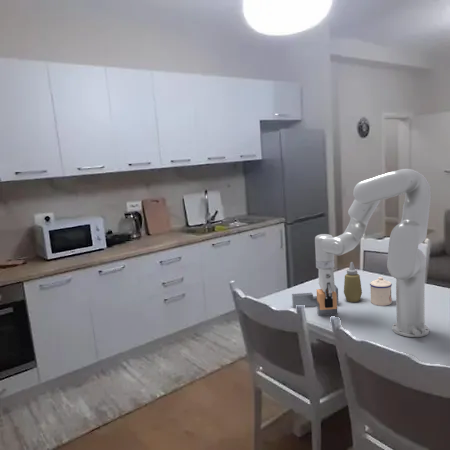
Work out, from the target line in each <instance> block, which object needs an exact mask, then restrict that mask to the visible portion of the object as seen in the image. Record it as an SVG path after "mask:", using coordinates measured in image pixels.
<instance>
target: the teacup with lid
mask: <svg viewBox="0 0 450 450" xmlns="http://www.w3.org/2000/svg"><path fill="white" fill-rule="evenodd" d="M369 286H370V303H371V304H372V305H375V306H381V307H382V306H383V307H385V306H389V305H391V304H392V300H393V299H392V286H393V284H392V282H391V281H390V280H386V279H384V277H383V276H378V278H377V279H374V280H372V281H371V282H370V283H369Z"/></svg>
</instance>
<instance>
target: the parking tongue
mask: <svg viewBox="0 0 450 450" xmlns="http://www.w3.org/2000/svg"><path fill="white" fill-rule="evenodd" d="M316 313H317V315H318V316H332V315H333V316H334V315H338V308H337V309H328V310H320V304H319V302H318V301H317V306H316Z"/></svg>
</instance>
